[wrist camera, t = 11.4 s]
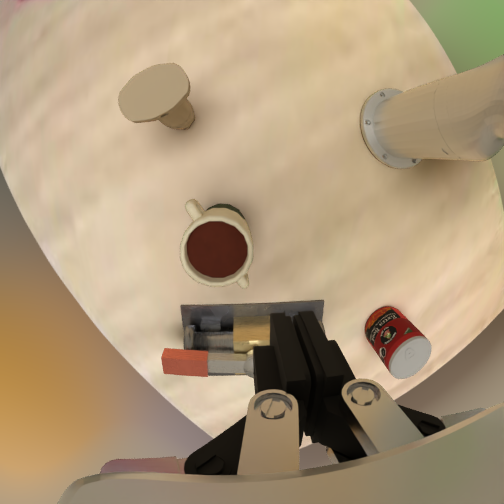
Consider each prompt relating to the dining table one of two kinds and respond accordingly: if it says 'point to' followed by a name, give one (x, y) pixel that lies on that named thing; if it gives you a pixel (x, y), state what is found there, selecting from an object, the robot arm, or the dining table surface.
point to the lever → (205, 362)
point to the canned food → (397, 342)
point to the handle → (158, 97)
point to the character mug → (216, 246)
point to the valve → (236, 325)
